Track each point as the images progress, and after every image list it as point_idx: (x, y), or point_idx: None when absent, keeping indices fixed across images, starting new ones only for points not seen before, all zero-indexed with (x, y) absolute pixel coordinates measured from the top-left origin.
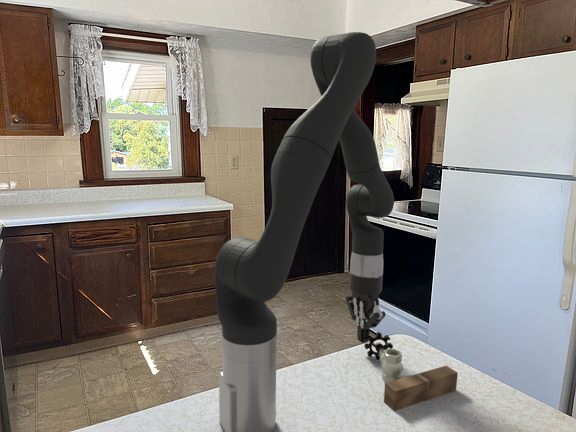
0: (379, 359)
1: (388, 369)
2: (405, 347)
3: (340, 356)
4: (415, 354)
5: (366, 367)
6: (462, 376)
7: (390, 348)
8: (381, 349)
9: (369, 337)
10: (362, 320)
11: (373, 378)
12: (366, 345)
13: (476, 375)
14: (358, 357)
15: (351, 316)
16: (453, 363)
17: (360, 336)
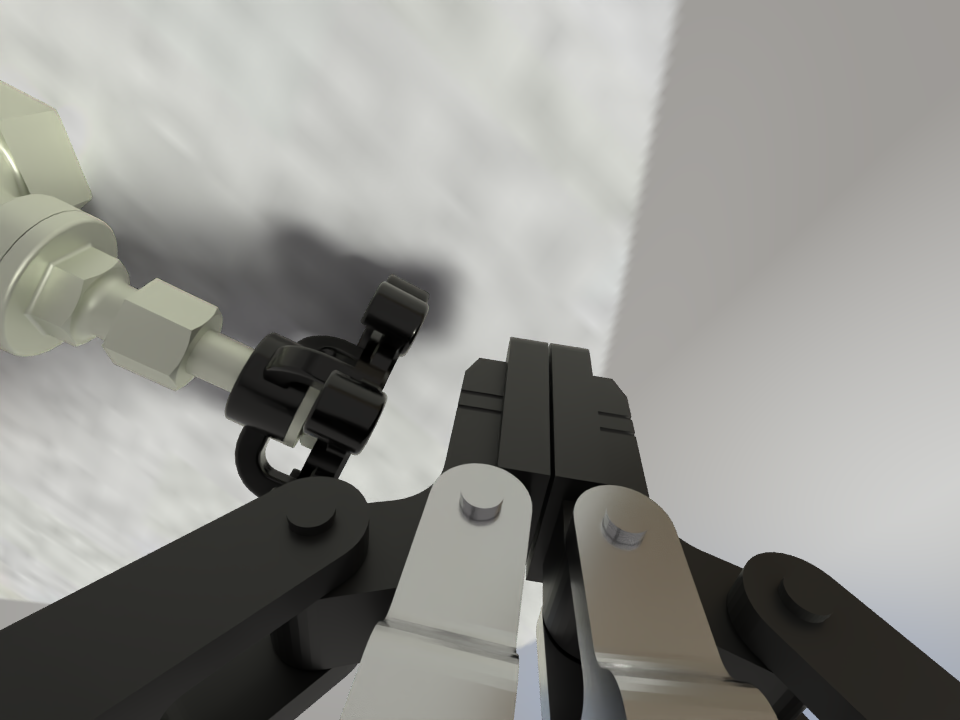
0: (359, 341)
1: None
2: None
3: (631, 42)
4: None
5: (290, 135)
6: (24, 547)
7: (292, 471)
8: (178, 358)
9: (329, 402)
10: (443, 611)
11: (75, 31)
12: (369, 308)
13: (27, 591)
14: (490, 214)
15: (878, 617)
16: None
17: (522, 375)
